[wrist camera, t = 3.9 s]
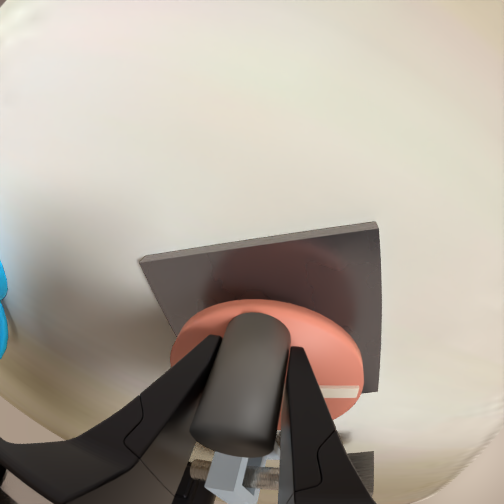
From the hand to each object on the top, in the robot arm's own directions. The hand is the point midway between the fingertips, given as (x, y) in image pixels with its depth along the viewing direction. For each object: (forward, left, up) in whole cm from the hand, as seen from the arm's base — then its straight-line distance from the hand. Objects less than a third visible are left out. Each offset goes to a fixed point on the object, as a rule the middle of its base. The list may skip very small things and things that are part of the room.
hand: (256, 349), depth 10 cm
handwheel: (-3, 0, -2) cm, 4 cm away
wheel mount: (-3, 0, -4) cm, 5 cm away
